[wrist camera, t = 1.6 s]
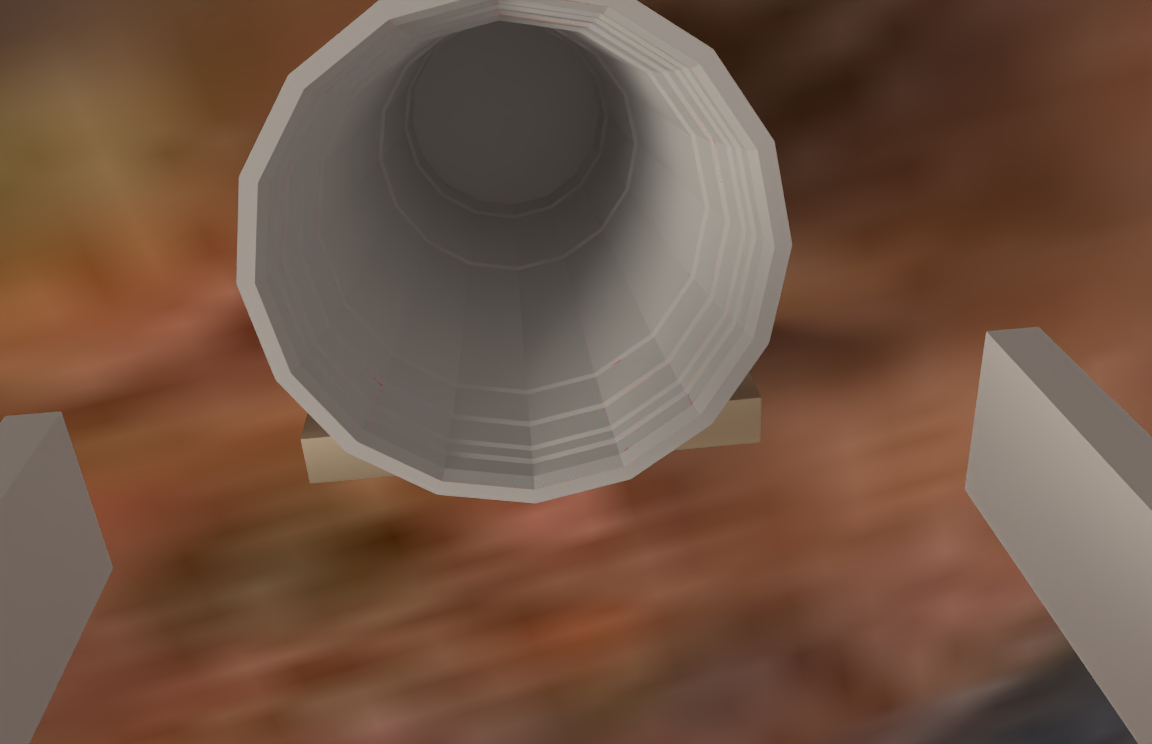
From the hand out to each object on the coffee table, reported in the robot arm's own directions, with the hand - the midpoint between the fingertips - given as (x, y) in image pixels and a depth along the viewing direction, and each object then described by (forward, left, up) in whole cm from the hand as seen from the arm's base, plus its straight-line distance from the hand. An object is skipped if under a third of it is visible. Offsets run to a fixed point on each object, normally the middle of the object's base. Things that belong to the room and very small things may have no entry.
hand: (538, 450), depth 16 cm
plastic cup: (0, 0, -18) cm, 18 cm away
